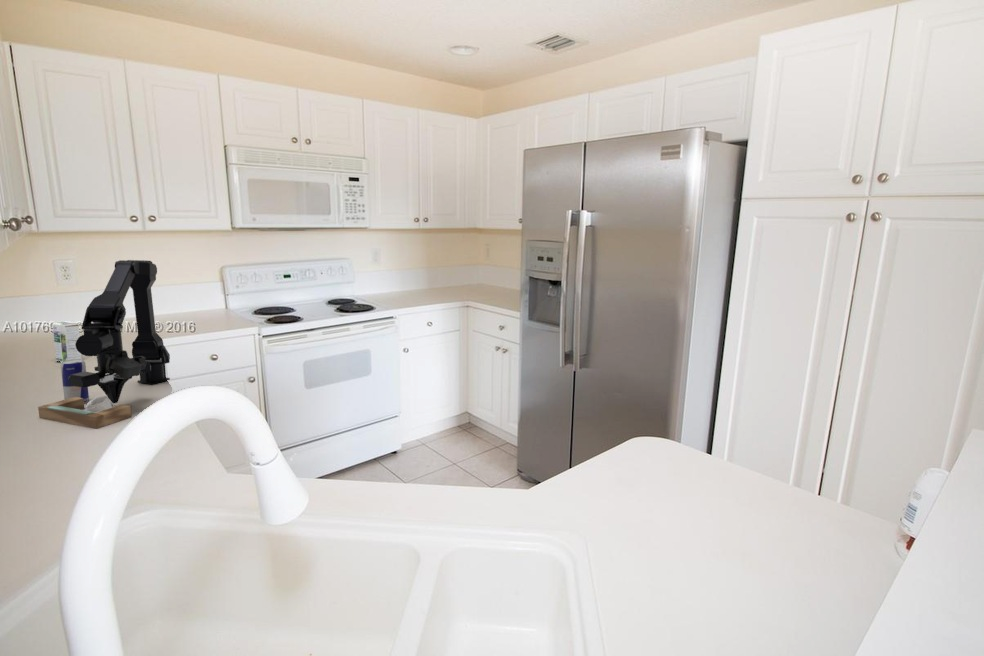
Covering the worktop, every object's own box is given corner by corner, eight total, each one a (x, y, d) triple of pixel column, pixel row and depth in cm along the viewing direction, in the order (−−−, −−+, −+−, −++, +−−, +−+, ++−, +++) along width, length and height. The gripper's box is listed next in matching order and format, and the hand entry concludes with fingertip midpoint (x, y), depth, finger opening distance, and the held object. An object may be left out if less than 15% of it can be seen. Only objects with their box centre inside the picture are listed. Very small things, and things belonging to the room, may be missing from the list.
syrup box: (55, 362, 183) (50, 322, 180) (73, 358, 188) (69, 320, 186) (64, 364, 181) (60, 324, 178) (83, 360, 186) (79, 322, 184)
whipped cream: (120, 417, 135) (121, 400, 134) (89, 421, 130) (90, 403, 129) (111, 408, 140) (112, 392, 139) (80, 412, 134) (81, 395, 134)
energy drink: (75, 406, 139) (70, 364, 137) (59, 404, 140) (55, 362, 138) (94, 400, 144) (90, 360, 142) (78, 398, 145) (74, 358, 143)
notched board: (76, 407, 138) (75, 395, 138) (131, 417, 133) (130, 405, 132) (39, 417, 130) (37, 405, 129) (96, 428, 124) (95, 416, 124)
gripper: (95, 358, 124) (102, 417, 127) (163, 344, 142) (167, 396, 145) (63, 353, 128) (70, 412, 130) (133, 340, 145) (138, 392, 148)
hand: (114, 403), depth 138 cm, fingers closed
